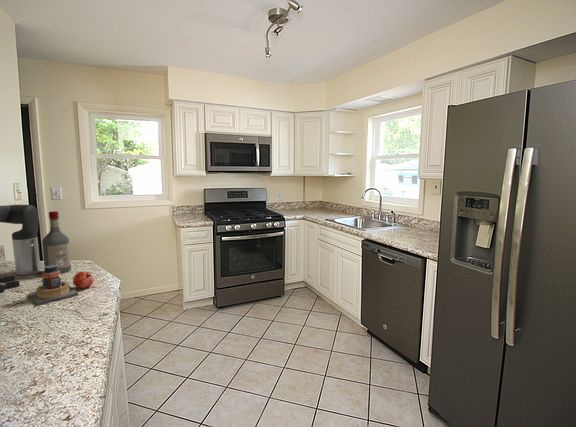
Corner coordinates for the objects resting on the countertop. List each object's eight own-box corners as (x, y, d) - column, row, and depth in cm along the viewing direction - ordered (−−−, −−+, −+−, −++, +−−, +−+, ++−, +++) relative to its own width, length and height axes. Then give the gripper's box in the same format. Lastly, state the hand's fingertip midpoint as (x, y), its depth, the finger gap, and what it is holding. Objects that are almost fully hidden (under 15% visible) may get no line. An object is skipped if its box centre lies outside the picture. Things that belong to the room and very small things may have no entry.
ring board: (29, 295, 122) (28, 285, 122) (67, 286, 132) (67, 277, 132) (37, 305, 114) (36, 295, 113) (78, 295, 123) (77, 286, 123)
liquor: (73, 271, 152) (68, 211, 147) (51, 276, 144) (46, 213, 140) (64, 267, 156) (60, 210, 152) (43, 272, 149) (37, 211, 144)
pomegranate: (70, 295, 129) (81, 284, 125) (65, 279, 131) (76, 268, 127) (89, 291, 135) (99, 281, 131) (84, 276, 137) (94, 266, 133)
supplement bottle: (66, 290, 125) (63, 264, 124) (53, 296, 119) (51, 269, 118) (52, 289, 126) (50, 263, 124) (39, 295, 120) (37, 268, 118)
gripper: (-48, 288, 96) (20, 275, 108) (-50, 277, 105) (12, 266, 117) (-45, 310, 97) (22, 295, 110) (-48, 297, 106) (14, 285, 119)
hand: (17, 280), depth 113 cm, fingers open, 8 cm apart
